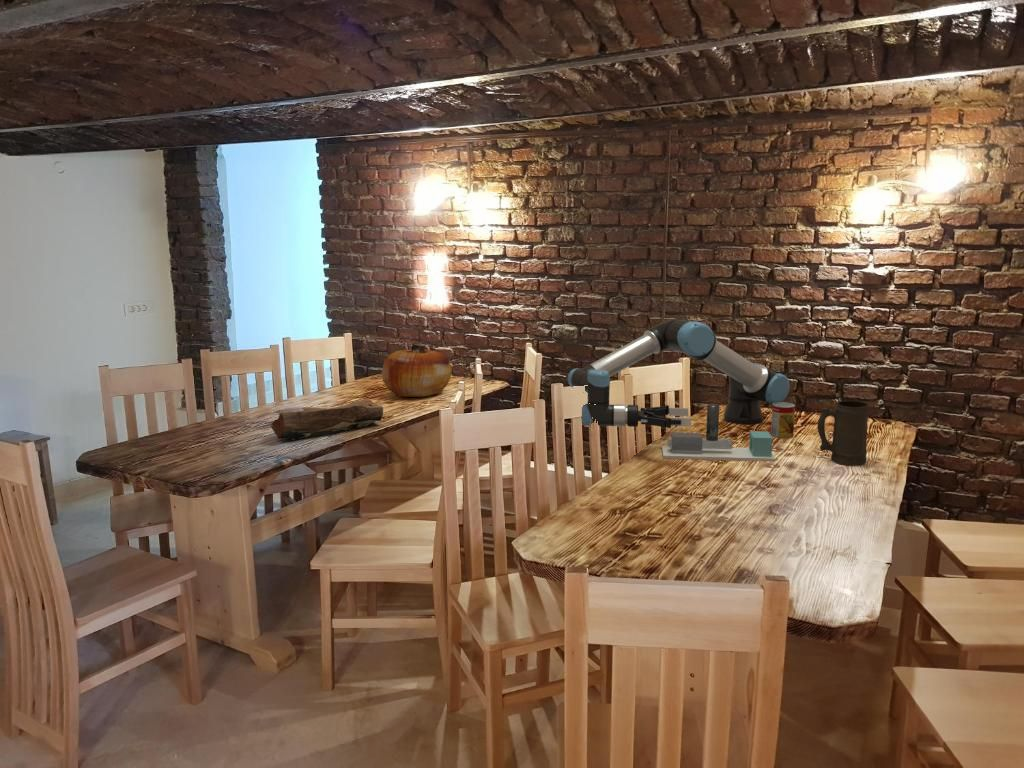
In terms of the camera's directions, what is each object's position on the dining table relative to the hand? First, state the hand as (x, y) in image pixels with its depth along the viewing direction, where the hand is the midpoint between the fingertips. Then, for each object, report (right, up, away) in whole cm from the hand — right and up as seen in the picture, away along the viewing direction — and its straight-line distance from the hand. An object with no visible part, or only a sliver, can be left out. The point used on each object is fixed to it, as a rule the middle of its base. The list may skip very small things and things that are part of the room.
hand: (689, 416), depth 252 cm
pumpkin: (-106, +6, +105) cm, 150 cm away
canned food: (+40, -8, +23) cm, 47 cm away
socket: (+24, -12, -1) cm, 27 cm away
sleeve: (-1, -12, +3) cm, 12 cm away
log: (-134, -8, +41) cm, 140 cm away
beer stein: (+48, -14, -8) cm, 51 cm away
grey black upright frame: (+4, -11, +2) cm, 12 cm away
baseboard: (+10, -13, +2) cm, 16 cm away
